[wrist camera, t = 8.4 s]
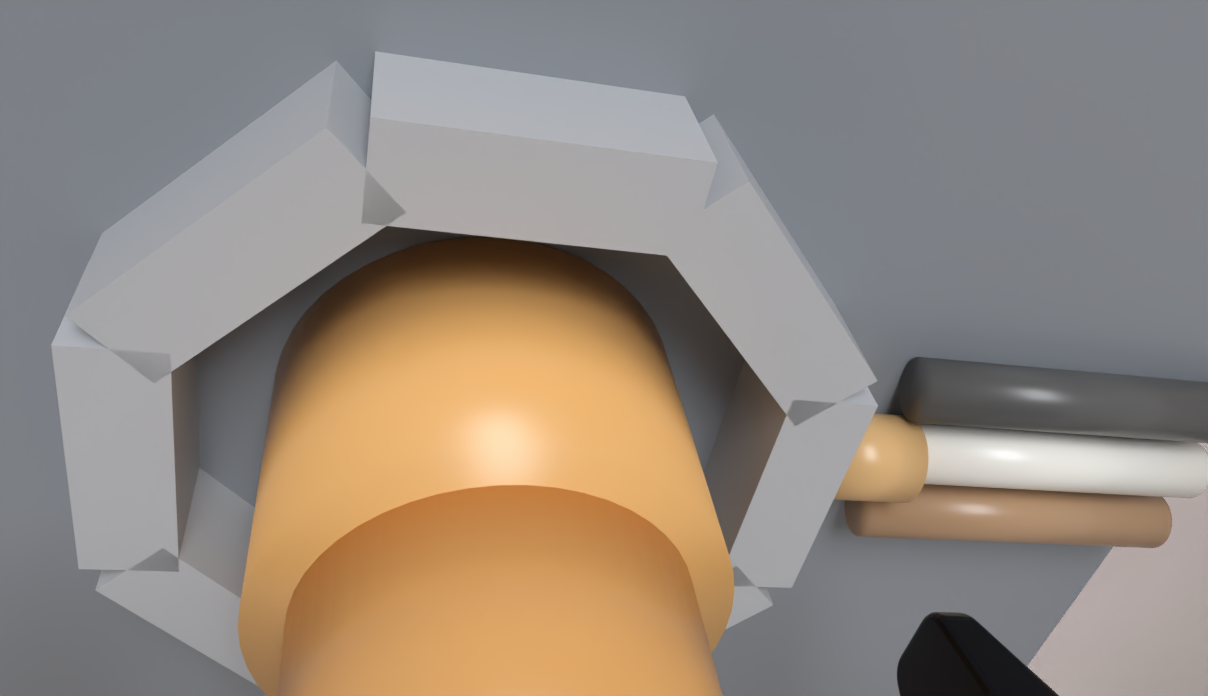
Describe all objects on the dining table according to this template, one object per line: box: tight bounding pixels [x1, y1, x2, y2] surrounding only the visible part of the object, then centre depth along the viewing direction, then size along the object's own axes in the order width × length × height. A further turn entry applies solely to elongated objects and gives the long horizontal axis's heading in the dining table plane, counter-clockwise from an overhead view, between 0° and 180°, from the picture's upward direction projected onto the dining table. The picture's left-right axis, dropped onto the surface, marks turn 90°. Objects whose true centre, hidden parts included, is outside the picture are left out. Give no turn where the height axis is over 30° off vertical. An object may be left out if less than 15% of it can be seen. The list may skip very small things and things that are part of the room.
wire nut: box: [238, 238, 735, 696], centre depth 10 cm, size 5×5×6 cm
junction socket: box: [0, 0, 1208, 696], centre depth 12 cm, size 16×12×2 cm
